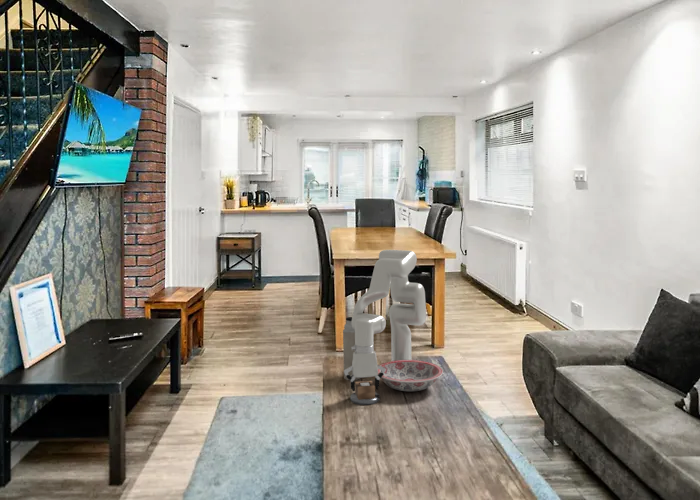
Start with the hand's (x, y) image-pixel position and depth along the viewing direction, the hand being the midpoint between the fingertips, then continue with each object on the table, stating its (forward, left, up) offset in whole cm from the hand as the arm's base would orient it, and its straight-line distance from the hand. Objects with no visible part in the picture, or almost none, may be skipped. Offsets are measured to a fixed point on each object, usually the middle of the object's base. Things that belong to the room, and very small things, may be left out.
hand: (365, 389), depth 231 cm
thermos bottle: (-28, -1, -4) cm, 28 cm away
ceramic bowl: (-10, +21, -5) cm, 24 cm away
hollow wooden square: (0, 0, -3) cm, 3 cm away
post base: (0, 0, -4) cm, 4 cm away
